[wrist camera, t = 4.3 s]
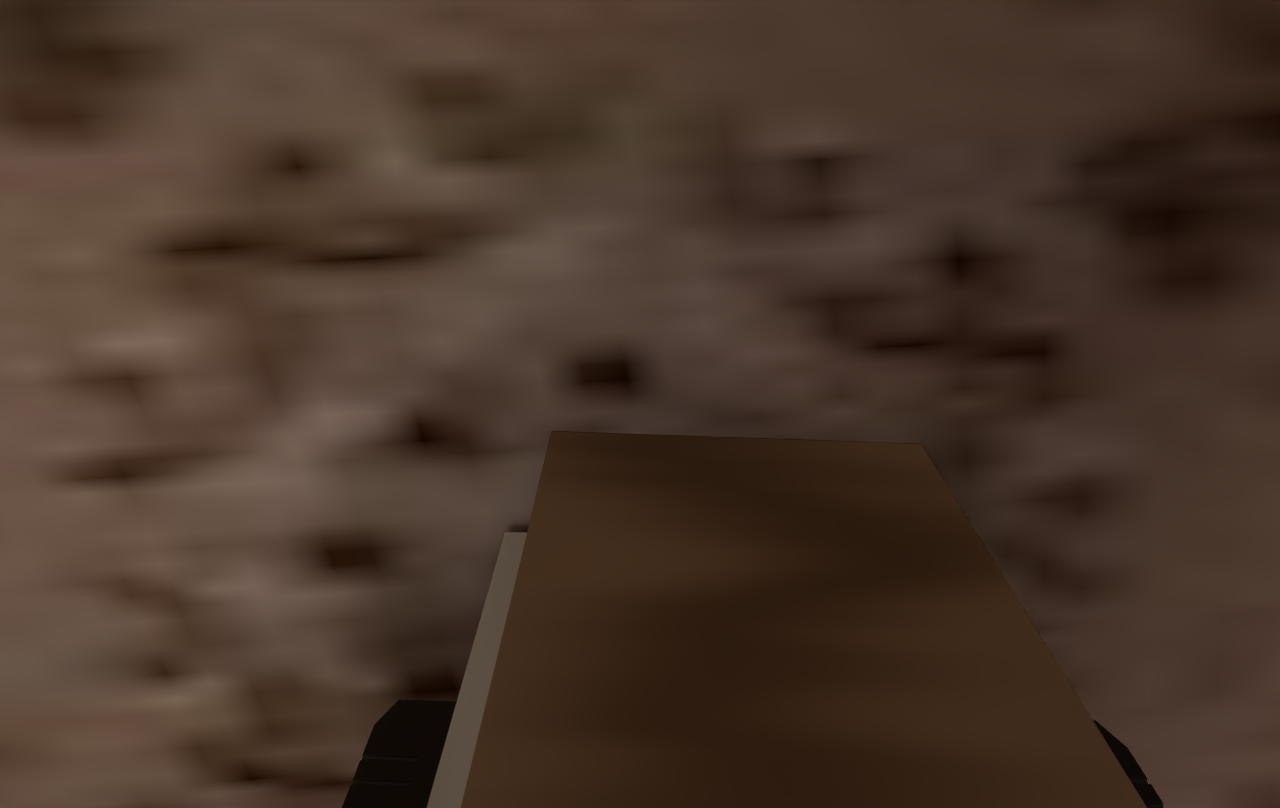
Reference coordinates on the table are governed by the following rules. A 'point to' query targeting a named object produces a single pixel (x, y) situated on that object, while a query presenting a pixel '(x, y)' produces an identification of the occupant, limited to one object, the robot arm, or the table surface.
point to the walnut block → (771, 641)
